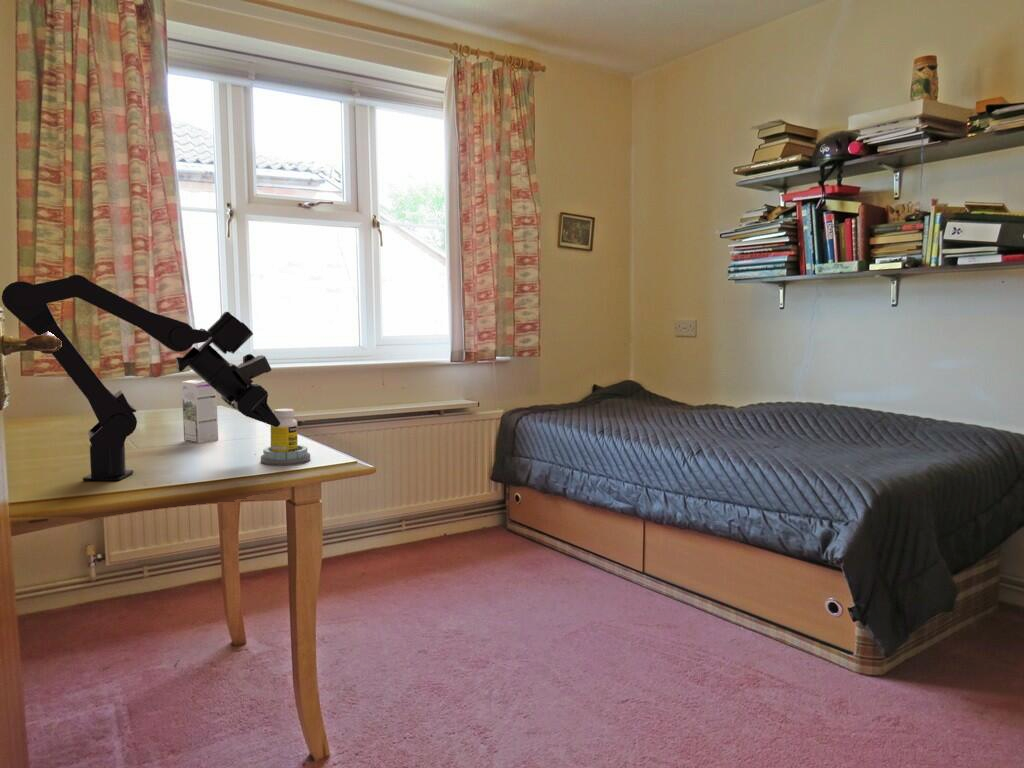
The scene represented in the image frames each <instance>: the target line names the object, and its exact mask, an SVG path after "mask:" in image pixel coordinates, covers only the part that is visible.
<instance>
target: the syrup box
mask: <svg viewBox="0 0 1024 768" xmlns="http://www.w3.org/2000/svg"><path fill="white" fill-rule="evenodd" d="M181 397H182V398H181V400H182V421H183V422H182V423H183V440H184V441H185V442H190V443H195V444H204V443H209V442H210V443H211V442H216V441H219V429H218V428H219V425H218V398H217V391H216V390H215V389H214V388H212V387H211V386H210V385H209V384H207V382H206V381H205V380H203V379H189V380H183V381H181Z"/></svg>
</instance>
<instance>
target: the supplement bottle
mask: <svg viewBox="0 0 1024 768" xmlns="http://www.w3.org/2000/svg"><path fill="white" fill-rule="evenodd" d="M273 413H274V415H275V416H276V417H277V419H278V420H279V422H280V425H279V426H278V427H274V426H272V425H270V447H271V451H274V452H290V451H297V450H298V449H297V445H298V421H297V420H296V419H294V417H295V416H294V415H295V410H294V408H275V409H273Z"/></svg>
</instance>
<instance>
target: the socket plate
mask: <svg viewBox="0 0 1024 768" xmlns="http://www.w3.org/2000/svg"><path fill="white" fill-rule="evenodd" d="M297 449H298V450H297V451H290V452H274V451H271V446H267V447H265V448H264V449H262V450H263V451H262V452H263V454H262V455H260V463H261V464H264V465H267V466H293V465H301V464H304V463H307V462H309V461H311V453H309V452H308V447H307V446H305V445H303V444H301V445H300V444H297Z"/></svg>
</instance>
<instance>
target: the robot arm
mask: <svg viewBox="0 0 1024 768" xmlns="http://www.w3.org/2000/svg"><path fill="white" fill-rule="evenodd" d="M73 298H76V299H80V300H82V301H84V302H85V303H88V304H89V305H92V306H94V307H96V308H98V309H100V310H103V311H104V312H106V313H108V314H110V315H112V316H114V317H116V318H118V319H121V320H123V321H125V322H126V323H129V324H131V325H133V326H135V327H137V328H138V329H140V330H141V331H143V332H144V333H145V334H147V335H148V336H149V337H151V338H152V339H153V340H156V341H157V342H158V343H160V344H161V345H163V346H164V347H165V348H166V349H169V350H171V351H174V352H179V353H181V352H184V351H185V352H186V351H187V352H186V353H185V354H184V355H183V356H176V357H175V361H176V370H177V371H179V372H183V371H184V370H185V369H186V368H187V367H188V368H190V369H191V370H192V371H193V372H194V373H195V374H196V375H197V376H199V377H200V378H201V380H205V381H206V382H207V384H209V385H210V386H211V387H212V388H214V389H215V390H216V393H218V394H220V396H221V400H222V401H224V402H225V403H226V404H227V405H228V406H230V407H231V408H233V409H235V410H237V411H238V412H239V413H241V414H242V415H243V416H245V417H246V418H250V419H252V420H256V421H258V422H262V423H264V424H266V425H269V426H271V425H272V426H274V427H278V426H279V425H280V422H279V420H278V419H277V417H276V416H275V415H274V411H273V410H272V409H271V407H270V406H269V404H268V397H269V393H268V391H267V390H266V389H265V388H264V387H263V386H262V385H260V384H258V383H256V384H255V383H254V380H252V379H255V378H257V377H259V376H261V375H263V374H267V373H269V372H271V371H272V370H273V369H272V367H271V365H270V363H269V361H268V360H267V357H266V356H265V355H263V354H261V355H256V356H255V355H253V354H251V353H247V354H245V355H244V356H242V362H241V363H240V364H238V365H236V364H233V363H231V362H229V361H228V360H227V359H225V358H224V357H223V355H221V354H220V353H219V352H221V353H223V354H224V355H226V354H227V353H231V354H235V353H236V352H237V350H239V349H240V348H241V347H242V346H243V345H244V344H245V343H246V342H247V341H248V340H250V338H251V337H253V335H254V333H253V331H252V330H251V329H250V328H249V327H248V326H247V325H246V324H245V323H244V322H242V321H240V320H239V319H237V317H236V316H234V315H232V314H231V312H229V311H224V312H223V313H222V314H221V315H220V317H219V318H218V319H217V320H216V322H214V323H213V324H212V325H211V326H210V327H209V328H208V329H207V330H206V329H205V328H199V329H195V328H193V327H192V326H191V325H190V324H188V323H187V322H183V321H180V320H178V319H174V318H171V317H169V316H165V315H162V314H159V313H156V312H152V311H149V310H147V309H145V308H143V307H141V306H139V305H138V304H136V303H134V302H131V301H130V300H127V298H123V297H122V296H119V294H118V295H117V294H115V293H114V292H112V291H110V290H108V289H106V288H105V287H102V286H100V285H98V284H96V283H95V282H92V281H90V280H89V279H88V278H86V277H85V276H83V275H80V274H73V275H70V276H68V277H65V278H60V279H54V280H49V281H45V282H44V281H43V282H40V283H35V284H33V283H31V282H28V281H24V280H23V281H15V282H11V283H10V284H8V285H7V286H6V287H5V288H4V289H3V291H2V294H1V301H2V304H3V306H4V307H5V308H6V309H7V310H8V311H9V312H10V313H11V314H12V315H13V316H14V317H16V319H18V320H19V321H20V322H21V323H22V324H23V325H24V326H26V327H27V328H28V329H30V330H31V331H32V332H33V333H34V334H35V335H37V337H38V335H41V334H43V333H45V332H47V331H49V332H51V333H52V334H54V335H55V336H56V337H57V338H59V339H60V340H61V341H62V347H61V348H60V349H59V350H57V351H55V352H52V353H51V355H52V356H53V357H54V358H55V360H56V361H57V362H58V364H59V365H60V366H61V367H62V369H63V370H64V371H65V372H66V374H67V376H69V377H70V379H71V380H72V381H73V382H74V384H75V385H76V386H77V389H79V390H80V392H82V394H83V395H84V397H85V398H86V399H87V400H88V401H87V402H89V405H90V407H91V410H92V411H93V412H94V415H95V417H96V419H97V421H98V422H97V423H96V424H95V425H94V426H92V427H91V429H89V430H88V432H87V433H88V434H87V435H88V439H89V442H90V445H89V460H90V462H89V463H90V464H89V465H90V474H88V475H85V476H83V477H82V481H120V480H122V479H124V478H126V477H128V476H130V475H132V474H134V472H135V471H134V470H133V469H128V470H127V469H126V468H127V467H126V447H125V442H126V439H127V438H128V437H129V436H130V435H131V434H133V433H134V431H136V428H137V424H138V421H137V420H138V419H137V417H136V415H135V414H134V413H136V412H137V409H136V408H135V407H134V405H132V404H131V403H129V402H128V400H127V398H126V396H125V395H124V394H125V393H123V391H122V390H121V389H120V390H118V391H117V392H116V393H113V392H112V391H111V390H110V389H109V388H108V387H106V385H105V384H104V382H102V380H101V379H100V378H99V377H98V375H97V374H96V372H95V371H94V370H93V369H92V368H91V366H90V365H89V364H88V362H87V361H86V360H85V358H84V357H83V356H82V355H81V353H80V352H79V350H78V349H77V348H76V347H75V345H74V343H72V341H71V340H70V339H69V337H68V336H67V335H66V333H65V332H64V331H63V329H62V328H61V327H60V326H59V325H58V323H57V320H56V318H55V317H54V314H53V312H52V310H51V308H50V307H49V304H51V303H55V302H56V303H57V302H60V301H65V300H68V299H73ZM200 343H202V345H201V346H199V347H198V348H196V347H194V345H197V344H200ZM211 344H212V345H213V346H214V347H215V348H217V349H218V350H219V352H218V351H217V350H216V349H215V348H214V347H212V346H211ZM188 350H189V351H188Z"/></svg>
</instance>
